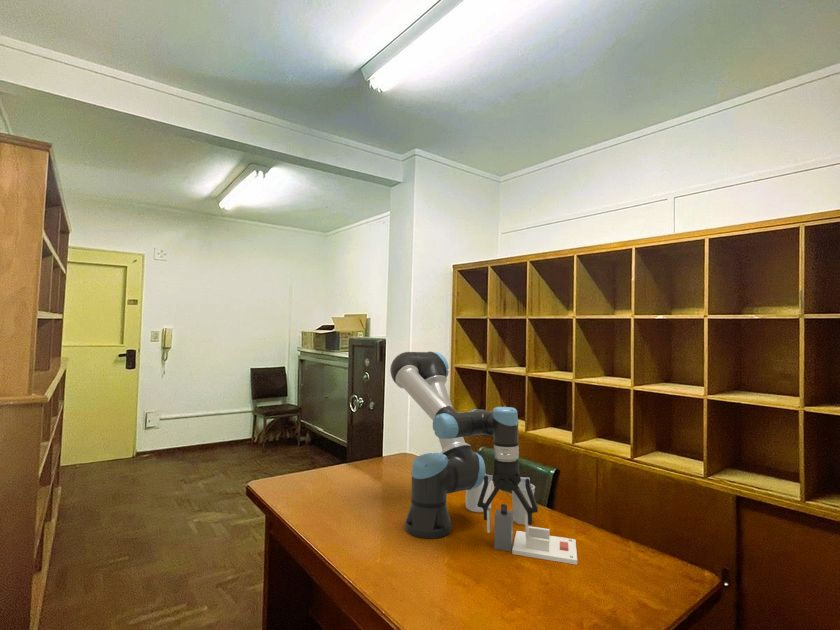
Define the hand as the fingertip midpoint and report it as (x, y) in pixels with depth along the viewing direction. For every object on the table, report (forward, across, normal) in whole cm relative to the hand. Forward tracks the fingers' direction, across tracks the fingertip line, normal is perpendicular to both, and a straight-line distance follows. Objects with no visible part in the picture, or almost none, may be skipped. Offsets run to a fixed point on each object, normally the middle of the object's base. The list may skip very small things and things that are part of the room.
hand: (507, 533), depth 136 cm
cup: (+4, +3, +22) cm, 23 cm away
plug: (+4, -1, 0) cm, 4 cm away
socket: (+5, +11, +3) cm, 12 cm away
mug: (+4, -13, +29) cm, 32 cm away
